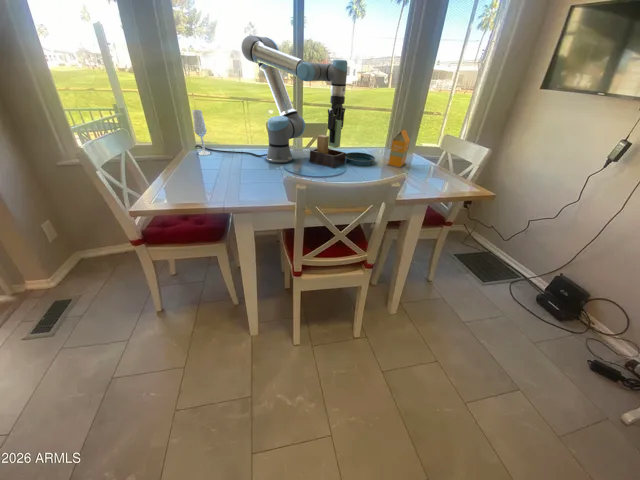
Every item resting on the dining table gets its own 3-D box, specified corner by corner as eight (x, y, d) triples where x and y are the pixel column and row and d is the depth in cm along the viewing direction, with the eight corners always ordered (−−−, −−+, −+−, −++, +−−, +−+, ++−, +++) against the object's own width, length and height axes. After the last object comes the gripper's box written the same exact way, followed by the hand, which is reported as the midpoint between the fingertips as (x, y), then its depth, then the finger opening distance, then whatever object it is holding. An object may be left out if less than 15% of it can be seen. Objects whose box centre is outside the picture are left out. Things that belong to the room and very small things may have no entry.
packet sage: (328, 146, 155) (330, 119, 147) (332, 145, 158) (334, 119, 150) (335, 148, 152) (337, 121, 145) (339, 146, 155) (342, 120, 148)
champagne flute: (208, 155, 163) (200, 111, 150) (196, 154, 163) (188, 110, 150) (212, 152, 168) (205, 109, 155) (201, 151, 168) (193, 109, 155)
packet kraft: (316, 159, 164) (317, 135, 156) (321, 158, 167) (322, 134, 159) (323, 161, 161) (324, 137, 154) (327, 160, 164) (329, 136, 157)
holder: (309, 161, 163) (310, 150, 159) (321, 157, 171) (322, 146, 167) (333, 168, 154) (334, 156, 150) (344, 163, 162) (345, 152, 158)
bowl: (337, 162, 164) (337, 156, 162) (353, 156, 177) (354, 150, 175) (364, 169, 155) (365, 163, 153) (379, 162, 168) (380, 156, 166)
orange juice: (404, 164, 167) (412, 130, 156) (400, 167, 161) (407, 132, 150) (392, 161, 170) (399, 128, 160) (387, 165, 164) (394, 130, 153)
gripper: (334, 96, 133) (330, 145, 146) (352, 95, 145) (348, 140, 157) (322, 95, 137) (319, 143, 149) (341, 94, 149) (337, 138, 161)
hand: (334, 141), depth 153 cm, fingers closed on packet sage, 4 cm apart
